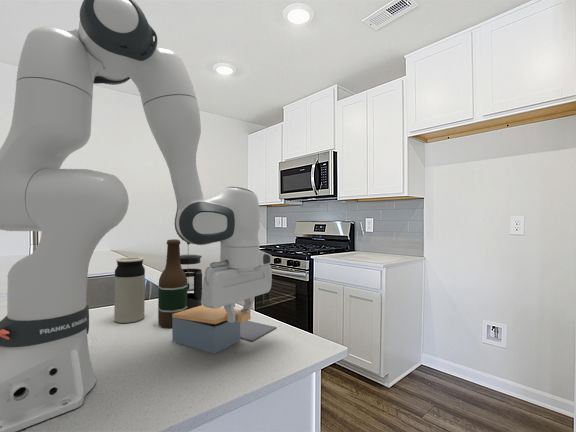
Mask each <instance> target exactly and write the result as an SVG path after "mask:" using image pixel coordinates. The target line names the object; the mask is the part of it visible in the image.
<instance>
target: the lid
mask: <svg viewBox="0 0 576 432" xmlns="http://www.w3.org/2000/svg"><path fill="white" fill-rule="evenodd" d="M234 311H235V313H237V314H238V321H236V322H240V323H243V322H245V321H250V320H251V318H252V317H251V316H252V315H251V312H250V313H246V312H241V309H237V308H236V309H235V308H234ZM172 317H173V318H179V319H186V320H192V321H198V322H204V323H210V324H218V323H220V322H223V321H226V320H227V321H228V314H227V312H226V310H225V308H224V307H219V308H216V309H213V308H208V307H205V306H204V305H203V304H202V305H201V306H198V307H194V308H191V309H188V310H184V311H181V312H177V313H174V314H172Z"/></svg>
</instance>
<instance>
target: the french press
mask: <svg viewBox="0 0 576 432" xmlns="http://www.w3.org/2000/svg"><path fill="white" fill-rule="evenodd" d="M186 245H187V254H180V263H181V265H182V266H183V265H185V266H186V265H187V268H182V269H183V271H184V272H185V274H186V277H187V310H188V309H191V308H194V307H198V306H201V305H203V304H202V301H201V298H202V288H203V270H202V269H200V268H189V267H190V266H189V265H196V264H200V263H201V258H202V257H203V256H202V255H198V254H190V243H187V242H186ZM189 278H193V283H192V284H191V283H189Z"/></svg>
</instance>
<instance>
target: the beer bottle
mask: <svg viewBox="0 0 576 432" xmlns="http://www.w3.org/2000/svg"><path fill="white" fill-rule="evenodd" d="M180 244H181V240H180V239H174V238H173V239H168V240H166V245H167V246H166V247H167V249H166V263H165V268H164V270H163V271H162V272H161V273H160V276H159V279H158V294H157V297H158V298H157V299H158V302H157V305H158V306H157V309H158V310H157V311H158V312H157V314H158V315H157V319H158V320H157V321H158V325H159V327H161V328H162V329H172V320H173V317H172V314H174V313H177V312H181V311H184V310H187V293H188V291H187V281H188V277H186V274H185V272H184V271H183V269H184V268H182V264H181V263H180V255H181V253H180V252H181V249H180Z"/></svg>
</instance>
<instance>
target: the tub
mask: <svg viewBox="0 0 576 432" xmlns="http://www.w3.org/2000/svg"><path fill="white" fill-rule="evenodd" d="M171 329H172V334H171V335H172V336H171V338H172V339H171V341H172V343H177V344H180V345H184V346H187V347H190V348H193V349H197V350H200V351H203V352H206V353H210V354H214V355H216V354H217V353H219V352H222V351H223V350H225V349H227V348H229V347H231V346H233V345H235V344H236V343H238V342H240V341H241V339H240V322H234V323H230V322H228V321H227V320H226V321H223V322H220V323H218V324H210V323H204V322H198V321H192V320H186V319H179V318H173V320H172V328H171Z"/></svg>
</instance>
